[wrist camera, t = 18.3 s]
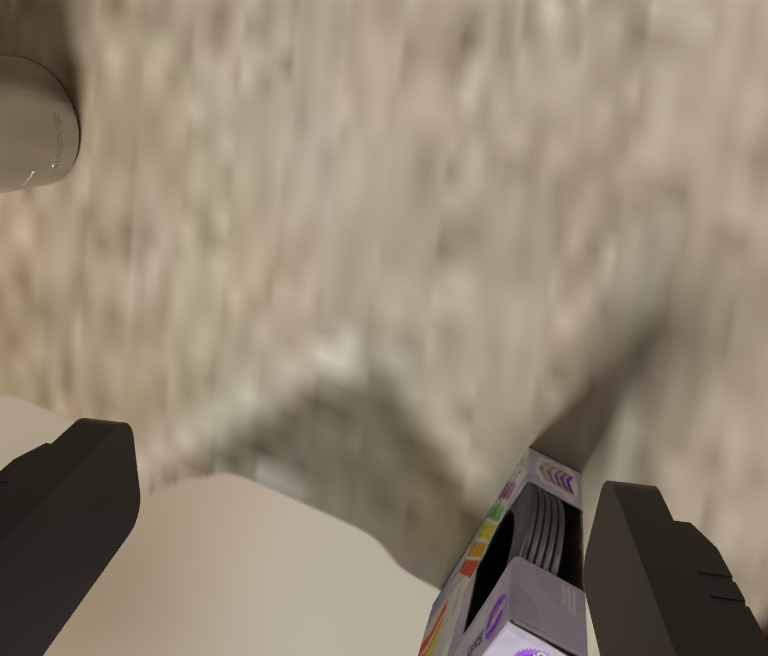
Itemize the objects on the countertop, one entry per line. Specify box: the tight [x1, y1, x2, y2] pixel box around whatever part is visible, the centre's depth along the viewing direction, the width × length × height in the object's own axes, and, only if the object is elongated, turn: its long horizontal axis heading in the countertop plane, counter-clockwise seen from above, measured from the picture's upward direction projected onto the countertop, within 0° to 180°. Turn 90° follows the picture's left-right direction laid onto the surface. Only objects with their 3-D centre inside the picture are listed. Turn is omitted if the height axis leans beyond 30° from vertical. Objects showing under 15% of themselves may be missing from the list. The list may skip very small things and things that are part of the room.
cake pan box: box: [418, 448, 588, 656], centre depth 41 cm, size 19×5×18 cm, turn 158°
